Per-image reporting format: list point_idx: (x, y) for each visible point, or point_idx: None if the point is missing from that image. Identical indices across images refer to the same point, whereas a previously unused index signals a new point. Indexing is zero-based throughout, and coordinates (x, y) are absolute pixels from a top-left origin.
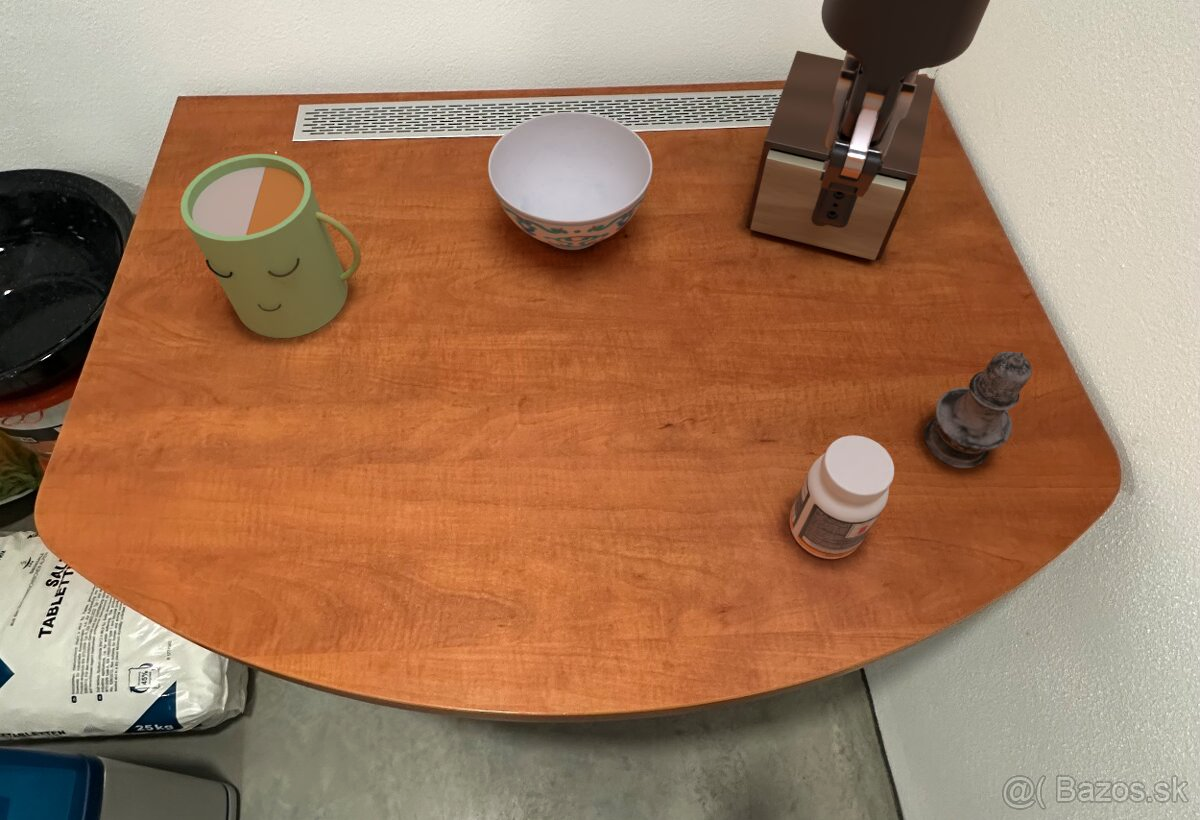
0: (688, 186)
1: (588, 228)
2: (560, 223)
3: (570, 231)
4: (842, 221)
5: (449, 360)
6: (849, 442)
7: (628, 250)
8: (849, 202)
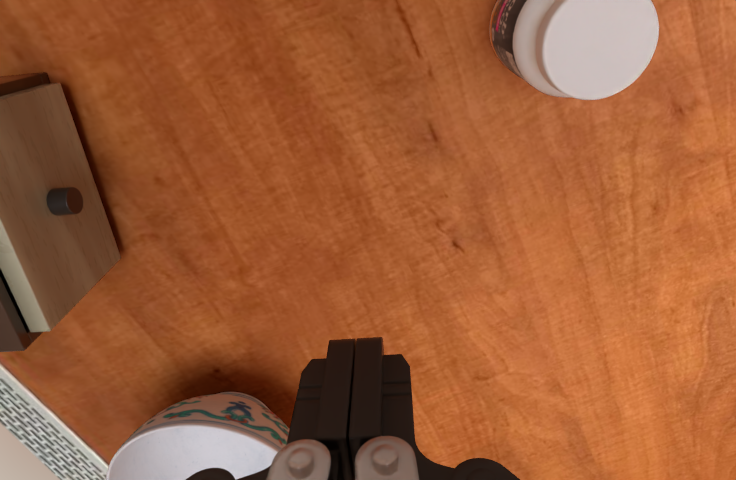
0: (96, 339)
1: (285, 445)
2: None
3: None
4: (382, 352)
5: (459, 446)
6: (562, 70)
7: (235, 361)
8: (382, 393)
